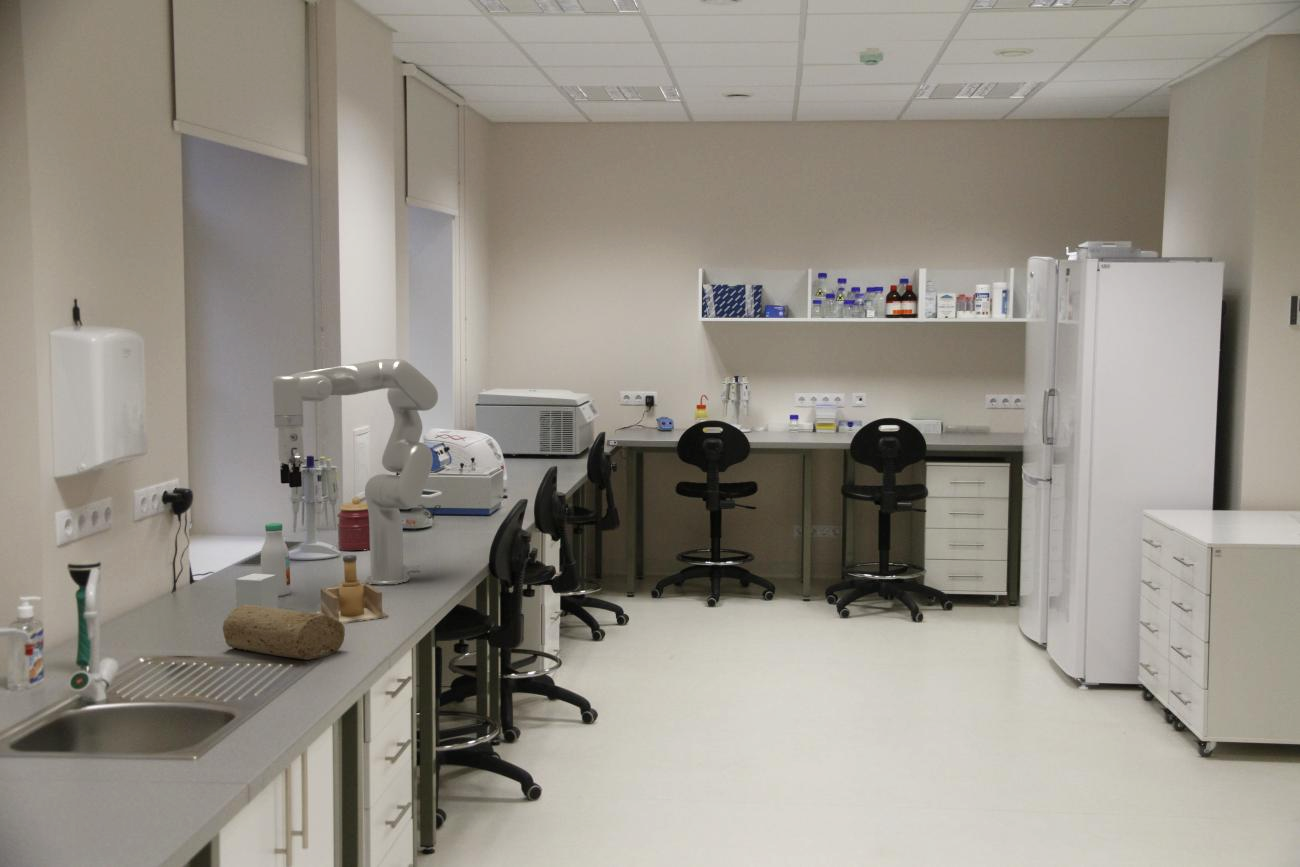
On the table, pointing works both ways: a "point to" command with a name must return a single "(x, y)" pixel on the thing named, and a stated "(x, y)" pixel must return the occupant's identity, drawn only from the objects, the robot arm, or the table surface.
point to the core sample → (283, 632)
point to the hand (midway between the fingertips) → (291, 485)
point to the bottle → (351, 590)
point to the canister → (354, 526)
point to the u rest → (371, 611)
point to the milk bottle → (276, 557)
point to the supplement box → (257, 590)
